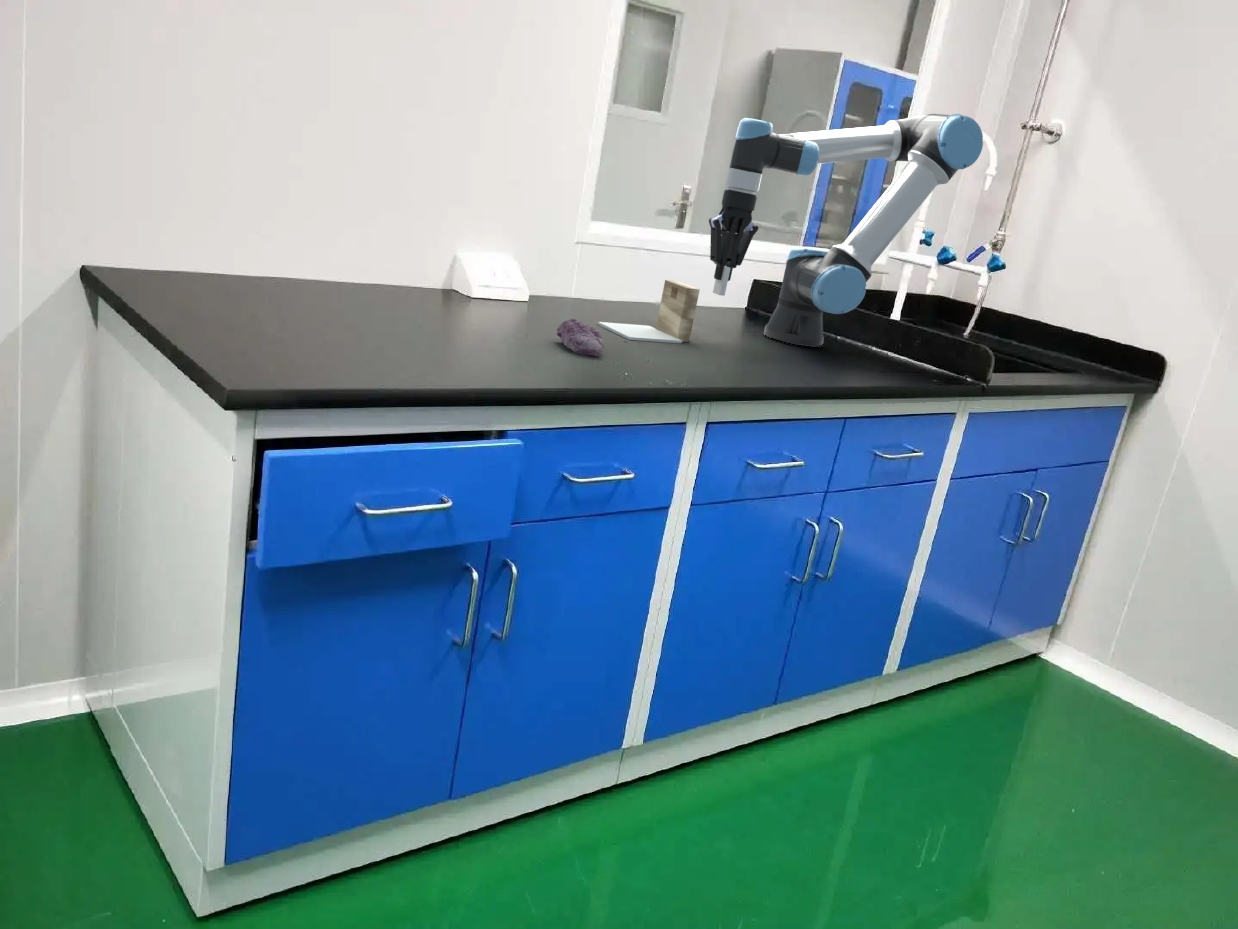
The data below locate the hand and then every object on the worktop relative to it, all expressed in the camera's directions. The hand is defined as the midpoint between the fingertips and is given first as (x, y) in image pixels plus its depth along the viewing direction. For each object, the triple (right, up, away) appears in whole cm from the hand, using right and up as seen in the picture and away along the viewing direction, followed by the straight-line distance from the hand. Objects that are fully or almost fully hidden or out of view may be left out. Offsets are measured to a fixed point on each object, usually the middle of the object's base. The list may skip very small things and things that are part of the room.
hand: (718, 294), depth 234 cm
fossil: (-31, -17, -35) cm, 50 cm away
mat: (-19, -10, -7) cm, 22 cm away
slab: (-11, -10, -3) cm, 15 cm away
